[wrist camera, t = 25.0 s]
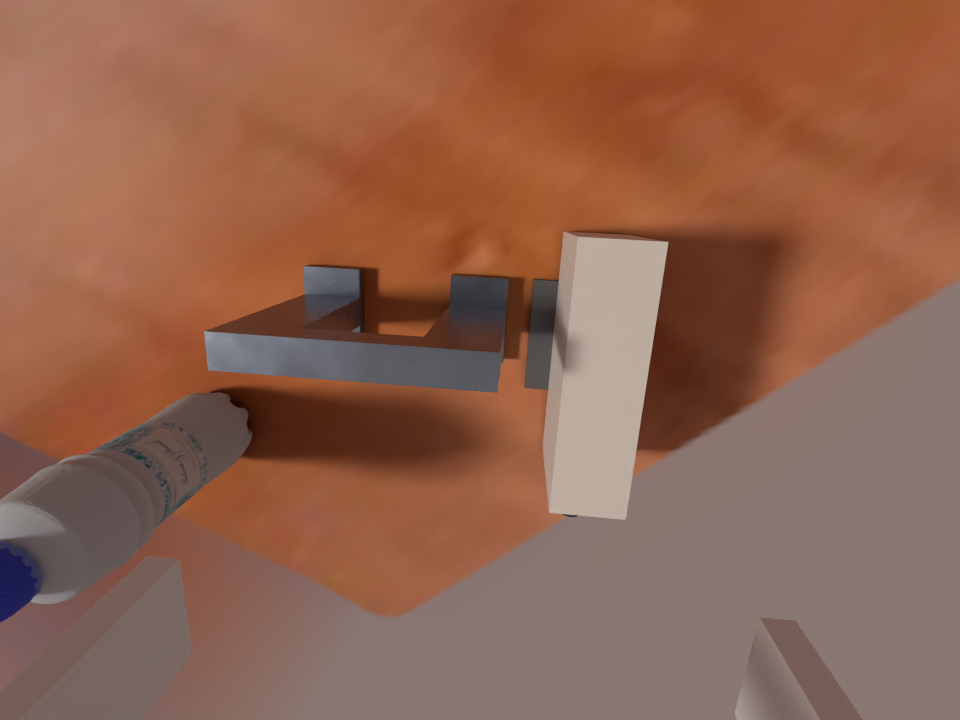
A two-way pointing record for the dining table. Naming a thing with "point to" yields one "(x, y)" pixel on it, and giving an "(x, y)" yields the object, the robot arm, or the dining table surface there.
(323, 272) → the blue-grey arch stand
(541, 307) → the mat
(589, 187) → the dining table surface
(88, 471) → the bottle
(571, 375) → the white block
